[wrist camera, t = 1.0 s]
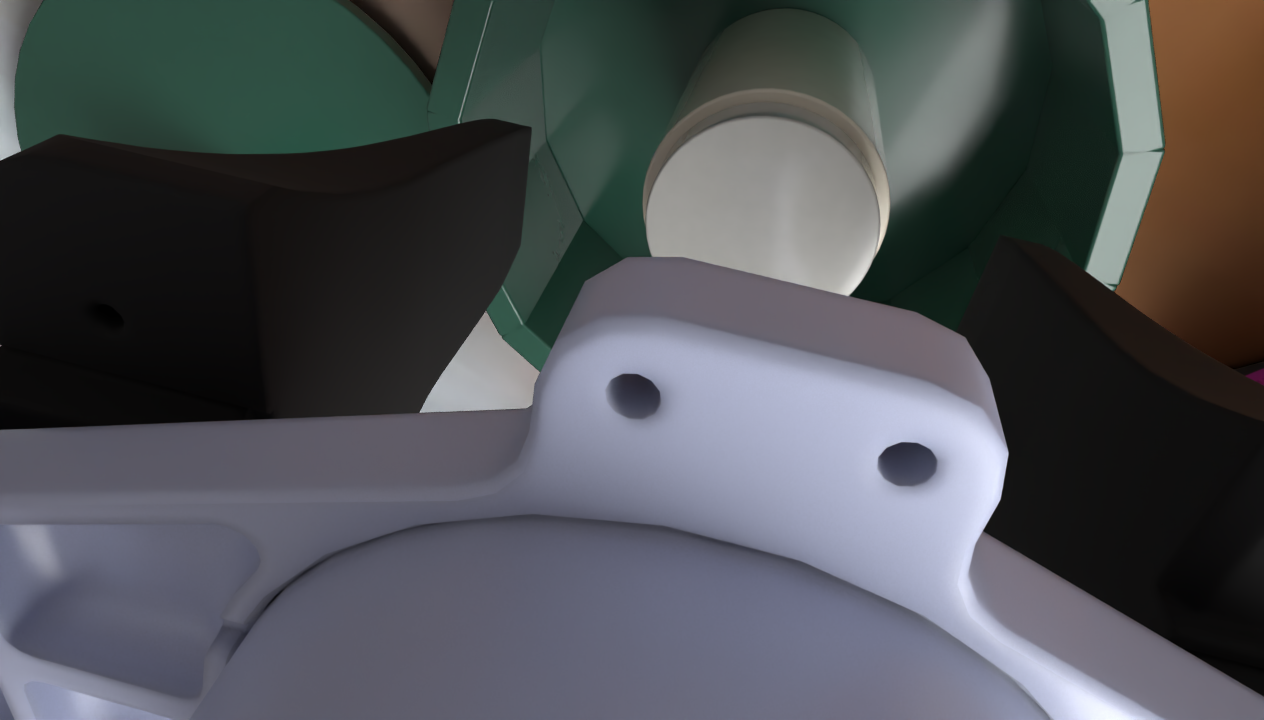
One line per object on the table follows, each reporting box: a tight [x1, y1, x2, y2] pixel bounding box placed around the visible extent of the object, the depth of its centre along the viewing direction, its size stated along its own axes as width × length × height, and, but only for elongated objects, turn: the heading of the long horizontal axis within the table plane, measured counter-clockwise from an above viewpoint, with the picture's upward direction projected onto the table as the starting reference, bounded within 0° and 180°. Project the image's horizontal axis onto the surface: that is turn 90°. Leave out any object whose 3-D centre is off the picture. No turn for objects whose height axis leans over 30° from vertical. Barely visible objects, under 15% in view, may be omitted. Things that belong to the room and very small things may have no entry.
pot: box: [427, 0, 1165, 372], centre depth 19 cm, size 13×13×6 cm
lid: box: [14, 0, 432, 154], centre depth 23 cm, size 14×14×6 cm
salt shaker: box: [642, 8, 890, 296], centre depth 18 cm, size 4×4×7 cm
